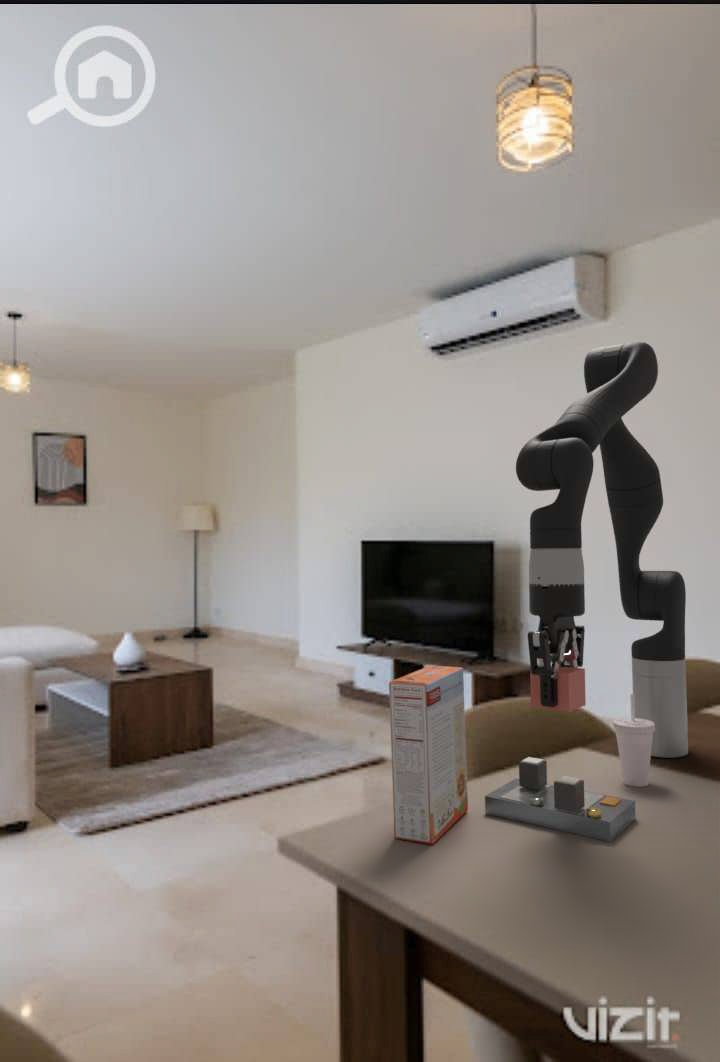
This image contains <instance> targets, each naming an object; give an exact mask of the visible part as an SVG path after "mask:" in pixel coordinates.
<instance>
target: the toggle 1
mask: <svg viewBox="0 0 720 1062" xmlns="http://www.w3.org/2000/svg"><path fill="white" fill-rule="evenodd" d="M547 764H548V763H547V760H546V759H545V760H544V759H543V758H538V757H532V756H528V757H526V758H523V759H522V760H521V761H519V762H518V774H519V775H518V777H519V778H518V779H519V786H522V787H527V788H532V789H537V790H539V789H541V788H542V787H544V786H545V785H547V784H548V772H547V771H548V768H547V767H548V765H547Z"/></svg>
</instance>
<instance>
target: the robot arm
mask: <svg viewBox="0 0 720 1062" xmlns="http://www.w3.org/2000/svg"><path fill="white" fill-rule="evenodd" d="M583 376H584V384H585V389H586V393H585V394H584V395H582V396H581V397H580V398H578V399H577V400H575V401H574V402H573V403H571V404H570V405H569V406H568V407H567V408H566V410H565V411H564V412H563V414H562V415H561V416H560V417H559V418H558V420H557V421H556V422H555V423H554V424H552V425H551V426H548V427H547V428H546V429H544V430H542V431H541V432H540V433H538V434H536V435H535V436H533V437H531V439H529V440H528V441H527V442H526V443H525V444H524V445H523V446H522V448H521V450H520V451H519V453H518V455H517V457H516V462H515V474H516V477H517V479H518V481H519V483H520V484H521V485H522V486H523V487H524V488H526V489H528V490H530V491H534V492H543V491H545V492H546V491H556V490H559V492H558V494H557V497H556V498H555V499H554V501H553V502H552V503H550V504H547V505H545V506H542V507H538V508H536V509H535V510H533V511H532V512H531V513H530V518H529V542H530V543H529V544H530V546H529V547H530V550H529V551H530V552H529V553H530V554H529V560H528V561H529V562H528V591H529V592H528V593H529V594H528V596H529V598H528V599H529V605H528V606H529V607H528V608H529V613H530V614H531V615H533V616H538V618H539V622H538V629H537V630H536V631H535V630H534V631H533V630H532V631H528V632H527V644H528V654H529V655H528V656H529V663H530V665H529V666H530V670H531V673H532V674H533V675H537V676H538V678H540V697H541V705H543V706H548V707H555V706H557V704H558V690H557V679H556V678H557V674H558V667H571V668H583V665H584V653H585V652H584V648H585V647H584V646H585V632H586V631H585V625H577V624H576V621H575V618H574V617H580V616H583V615H584V614H585V613H586V611H585V610H586V605H585V604H586V601H585V597H586V596H585V564H584V557H583V550H582V548H583V547H582V545H583V543H582V542H583V541H582V540H583V539H582V536H583V535H582V519H583V514H584V507H585V504H586V499H587V495H588V491H589V489H590V484H591V481H592V477H593V472H594V461H595V460H594V456H593V453H594V452H595V451H596V450H597V448H598V446H599V449H600V455H601V461H602V469H603V477H604V485H605V490H606V491H605V492H606V496H607V503H608V508H609V509H608V510H609V513H610V518H611V522H612V530H613V535H614V539H615V540H614V541H615V547H616V556H617V557H616V558H617V559H616V560H617V567H618V568H617V570H618V581H619V593H620V600H621V601H620V602H621V606H622V608H623V611H624V614H625V616H626V617H627V618H629V619H631V620H636V621H655V622H656V621H661V622H662V623H663V625H662V628H661V629H660V630H659V631H658V632H656V633H655V634H652V635H650V636H646V637H643V638H639V639H637V640H634V641H633V642H632V644H631V653H630V654H631V673H632V694H634V711H635V718H638V719H645V720H649V721H652V722H654V723H655V731H653V739H652V749H651V757H654V758H655V757H657V758H669V759H671V758H681V757H685V756H687V755H688V754H689V741H688V737H689V735H688V730H689V729H688V704H687V702H688V701H687V697H688V696H687V672H686V671H687V669H686V668H687V667H686V601H687V600H686V599H687V597H686V596H687V595H686V584H685V579H684V577H683V575H682V574H681V572H679V571H677V570H642V569H641V568H640V555H641V552H642V548H643V546H644V544H645V542H646V540H647V537H648V536H649V534H650V532H651V531H652V529H653V527H654V526H655V524H656V523H657V522H658V521H657V520H658V519H659V517H660V514H661V512H662V509H663V505H664V496H663V489H662V480H661V474H660V470H659V467H658V464H657V463H656V461H655V459H654V458H653V457H652V456H651V454H650V453H649V452H648V451H647V449H645V447H644V446H643V445H642V444H641V443H640V442H639V441H638V440H637V438H636V437H635V436H634V435H633V434H632V433H631V431H630V430H629V429H628V427H627V426H626V424H625V423H624V421H623V419H622V418H623V416H625V415H626V414H627V413H628V412H629V411H630V410H632V409H633V408H634V407H635V406H636V405H638V404H639V403H640V402H641V401H643V400H644V399H645V398H646V397H647V396H648V395H650V393H651V392H652V391H653V389H654V387H655V386H656V383H657V380H658V376H659V363H658V359H657V354H656V352H655V351H654V348H653V346H651V345H650V344H649V343H647V342H643V341H632V342H626V343H625V342H624V343H621V344H613V345H608V346H601V347H597V348H593V349H590V350H589V351H588V352H587V353H586V355H585V359H584V364H583ZM551 666H552V667H551Z"/></svg>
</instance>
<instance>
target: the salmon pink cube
mask: <svg viewBox="0 0 720 1062" xmlns="http://www.w3.org/2000/svg"><path fill="white" fill-rule="evenodd" d="M551 667H552V665H551ZM529 673H530V676H529V677H530V707H531V708H538V709H544V710H553V711H561V712H572V711H575V710H577V709H581V708H582V707H585V706H587V704H586V669H585V668H583V667H578V668H571V667H558V674H557V678H556V679H557V690H558V704H557V706H555V707H548V706H543V705H541V697H540V678H538V676H537V675H533V674H532V673H531V669H530V670H529Z"/></svg>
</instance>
